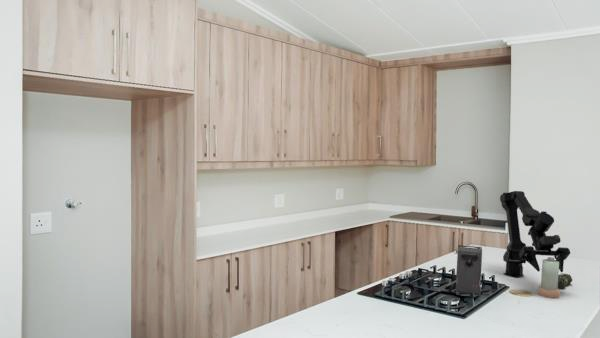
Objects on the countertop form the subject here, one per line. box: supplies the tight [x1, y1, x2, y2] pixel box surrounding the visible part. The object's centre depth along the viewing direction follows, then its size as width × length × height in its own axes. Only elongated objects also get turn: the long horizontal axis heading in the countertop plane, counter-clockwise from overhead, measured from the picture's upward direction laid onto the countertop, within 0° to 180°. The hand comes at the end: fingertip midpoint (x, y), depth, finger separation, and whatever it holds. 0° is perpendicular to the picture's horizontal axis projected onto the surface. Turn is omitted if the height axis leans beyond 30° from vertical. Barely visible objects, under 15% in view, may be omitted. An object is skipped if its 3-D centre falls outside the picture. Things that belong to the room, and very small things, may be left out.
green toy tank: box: [558, 272, 573, 290], centre depth 221 cm, size 6×5×18 cm
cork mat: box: [508, 289, 534, 298], centre depth 207 cm, size 9×9×1 cm
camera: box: [453, 244, 483, 297], centre depth 210 cm, size 11×17×20 cm, turn 161°
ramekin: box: [537, 285, 561, 299], centre depth 205 cm, size 8×8×3 cm
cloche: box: [540, 256, 560, 291], centre depth 205 cm, size 6×6×12 cm
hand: (550, 271), depth 204 cm, fingers open, 9 cm apart
